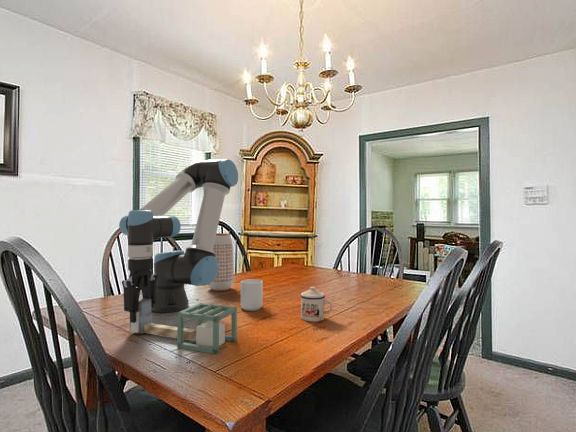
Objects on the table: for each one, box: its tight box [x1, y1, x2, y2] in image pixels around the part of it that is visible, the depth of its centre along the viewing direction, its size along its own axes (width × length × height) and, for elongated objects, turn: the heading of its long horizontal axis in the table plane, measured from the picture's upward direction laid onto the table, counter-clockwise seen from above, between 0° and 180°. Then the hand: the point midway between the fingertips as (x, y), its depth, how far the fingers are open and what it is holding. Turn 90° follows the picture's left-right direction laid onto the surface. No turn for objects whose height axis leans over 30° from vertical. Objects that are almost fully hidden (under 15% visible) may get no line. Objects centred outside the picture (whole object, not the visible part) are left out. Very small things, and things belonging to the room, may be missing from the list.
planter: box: [207, 232, 235, 292], centre depth 180 cm, size 13×13×28 cm
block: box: [195, 320, 226, 347], centre depth 106 cm, size 6×6×6 cm
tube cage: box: [176, 302, 238, 355], centre depth 106 cm, size 13×11×10 cm
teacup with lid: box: [300, 286, 334, 323], centre depth 132 cm, size 12×9×12 cm
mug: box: [240, 278, 264, 312], centre depth 147 cm, size 12×9×11 cm
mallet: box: [129, 297, 196, 341], centre depth 112 cm, size 23×4×10 cm, turn 69°
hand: (140, 329), depth 116 cm, fingers closed on mallet, 4 cm apart
